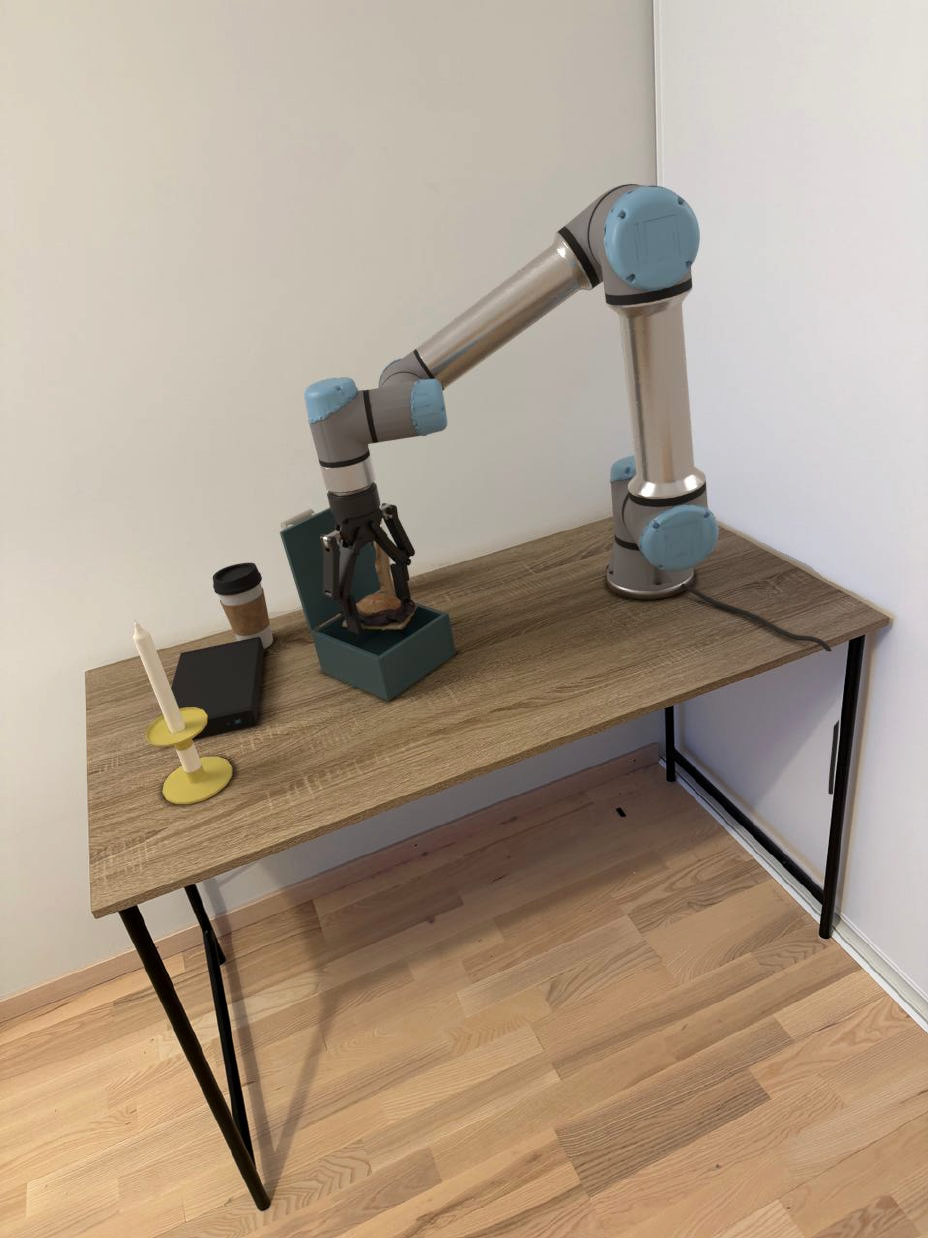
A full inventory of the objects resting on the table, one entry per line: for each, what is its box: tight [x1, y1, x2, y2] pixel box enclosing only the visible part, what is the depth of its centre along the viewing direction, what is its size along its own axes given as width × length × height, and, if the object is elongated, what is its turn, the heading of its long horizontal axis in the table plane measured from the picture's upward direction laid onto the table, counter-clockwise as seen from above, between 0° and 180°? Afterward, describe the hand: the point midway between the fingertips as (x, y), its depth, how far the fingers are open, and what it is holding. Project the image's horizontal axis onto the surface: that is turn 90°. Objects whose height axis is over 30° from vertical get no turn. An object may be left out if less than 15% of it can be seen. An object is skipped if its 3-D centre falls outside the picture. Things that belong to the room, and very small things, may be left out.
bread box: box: [310, 591, 457, 702], centre depth 139 cm, size 17×16×8 cm
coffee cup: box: [212, 562, 274, 650], centre depth 149 cm, size 8×8×15 cm
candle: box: [132, 617, 233, 805], centre depth 114 cm, size 10×10×27 cm
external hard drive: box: [170, 637, 265, 740], centre depth 139 cm, size 14×23×3 cm, turn 10°
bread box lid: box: [279, 506, 381, 631], centre depth 140 cm, size 17×16×8 cm
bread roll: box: [343, 593, 417, 630], centre depth 135 cm, size 11×8×4 cm
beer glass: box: [370, 519, 396, 596], centre depth 159 cm, size 7×7×15 cm
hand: (380, 615), depth 136 cm, fingers closed on bread roll, 10 cm apart
